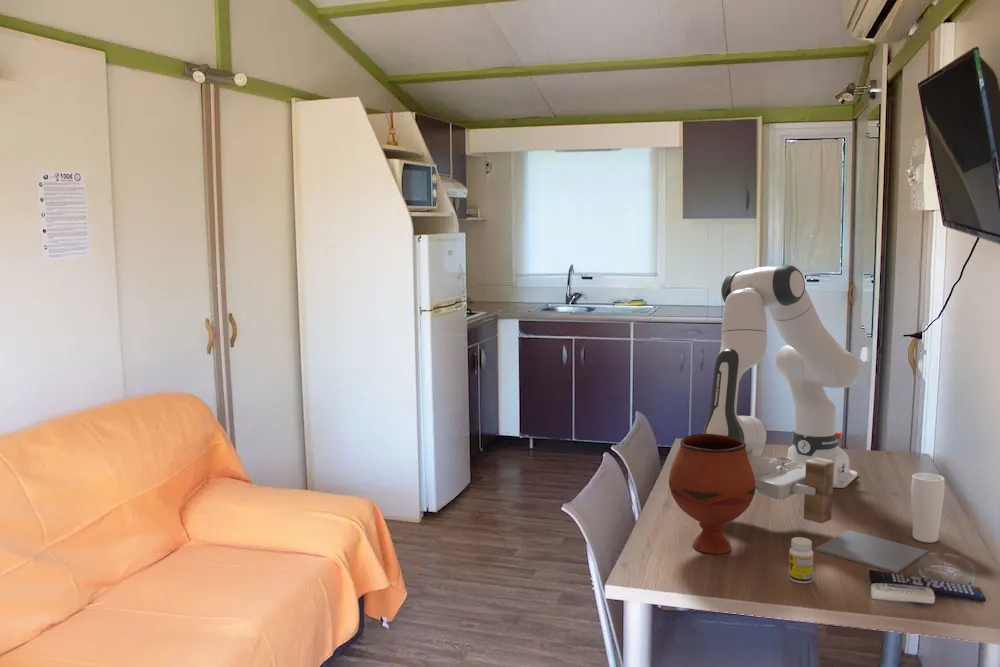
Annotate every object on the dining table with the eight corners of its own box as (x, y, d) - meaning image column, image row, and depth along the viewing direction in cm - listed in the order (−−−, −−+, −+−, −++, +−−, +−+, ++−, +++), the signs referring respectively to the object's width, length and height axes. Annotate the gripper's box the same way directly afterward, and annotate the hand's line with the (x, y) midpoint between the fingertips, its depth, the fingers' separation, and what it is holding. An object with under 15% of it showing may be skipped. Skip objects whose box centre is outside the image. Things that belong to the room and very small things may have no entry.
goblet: (679, 527, 206) (680, 427, 202) (760, 538, 197) (763, 435, 194) (659, 555, 188) (659, 446, 185) (747, 569, 180) (749, 455, 177)
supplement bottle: (788, 573, 178) (789, 535, 176) (811, 575, 176) (813, 537, 175) (788, 582, 173) (790, 543, 172) (813, 585, 172) (814, 545, 171)
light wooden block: (813, 514, 200) (815, 457, 199) (831, 519, 197) (833, 460, 195) (803, 518, 197) (805, 460, 196) (821, 523, 194) (824, 464, 192)
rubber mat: (848, 532, 201) (848, 530, 201) (927, 552, 187) (927, 550, 187) (815, 550, 190) (815, 547, 190) (896, 573, 177) (896, 571, 177)
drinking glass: (948, 543, 193) (951, 480, 191) (921, 545, 191) (924, 481, 190) (928, 533, 199) (931, 471, 197) (902, 535, 198) (905, 473, 196)
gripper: (745, 472, 198) (800, 484, 188) (789, 456, 212) (843, 467, 202) (744, 497, 199) (799, 512, 189) (789, 480, 213) (842, 492, 203)
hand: (822, 488), depth 196 cm, fingers closed on light wooden block, 4 cm apart
